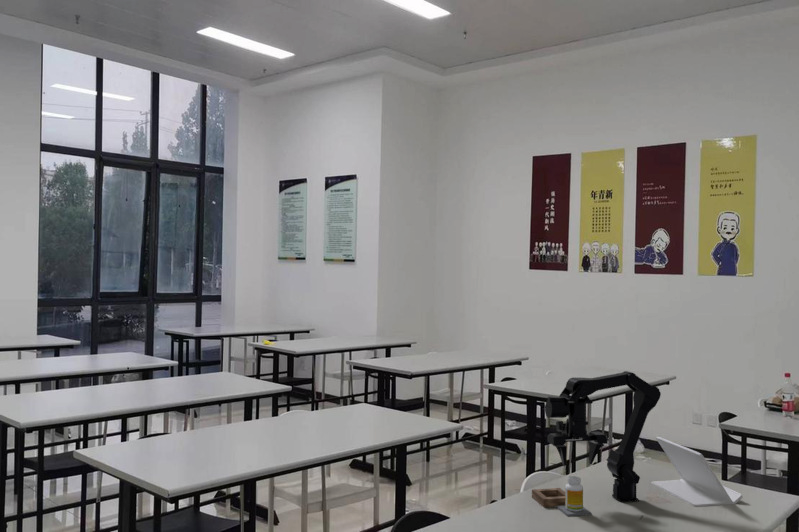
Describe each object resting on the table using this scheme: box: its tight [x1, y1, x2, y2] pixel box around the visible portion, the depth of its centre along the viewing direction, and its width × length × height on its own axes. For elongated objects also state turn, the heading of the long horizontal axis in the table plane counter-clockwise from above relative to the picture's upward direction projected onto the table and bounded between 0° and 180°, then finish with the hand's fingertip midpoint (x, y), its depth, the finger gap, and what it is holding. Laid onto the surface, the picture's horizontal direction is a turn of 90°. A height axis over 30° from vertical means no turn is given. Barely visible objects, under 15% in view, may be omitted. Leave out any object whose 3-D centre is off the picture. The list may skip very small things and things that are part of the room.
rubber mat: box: [556, 505, 593, 517], centre depth 209 cm, size 8×8×1 cm
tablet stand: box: [650, 435, 744, 507], centre depth 228 cm, size 18×25×17 cm
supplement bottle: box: [564, 475, 584, 512], centre depth 209 cm, size 5×5×10 cm
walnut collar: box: [531, 487, 565, 508], centre depth 218 cm, size 10×10×2 cm
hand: (577, 464), depth 218 cm, fingers open, 9 cm apart
